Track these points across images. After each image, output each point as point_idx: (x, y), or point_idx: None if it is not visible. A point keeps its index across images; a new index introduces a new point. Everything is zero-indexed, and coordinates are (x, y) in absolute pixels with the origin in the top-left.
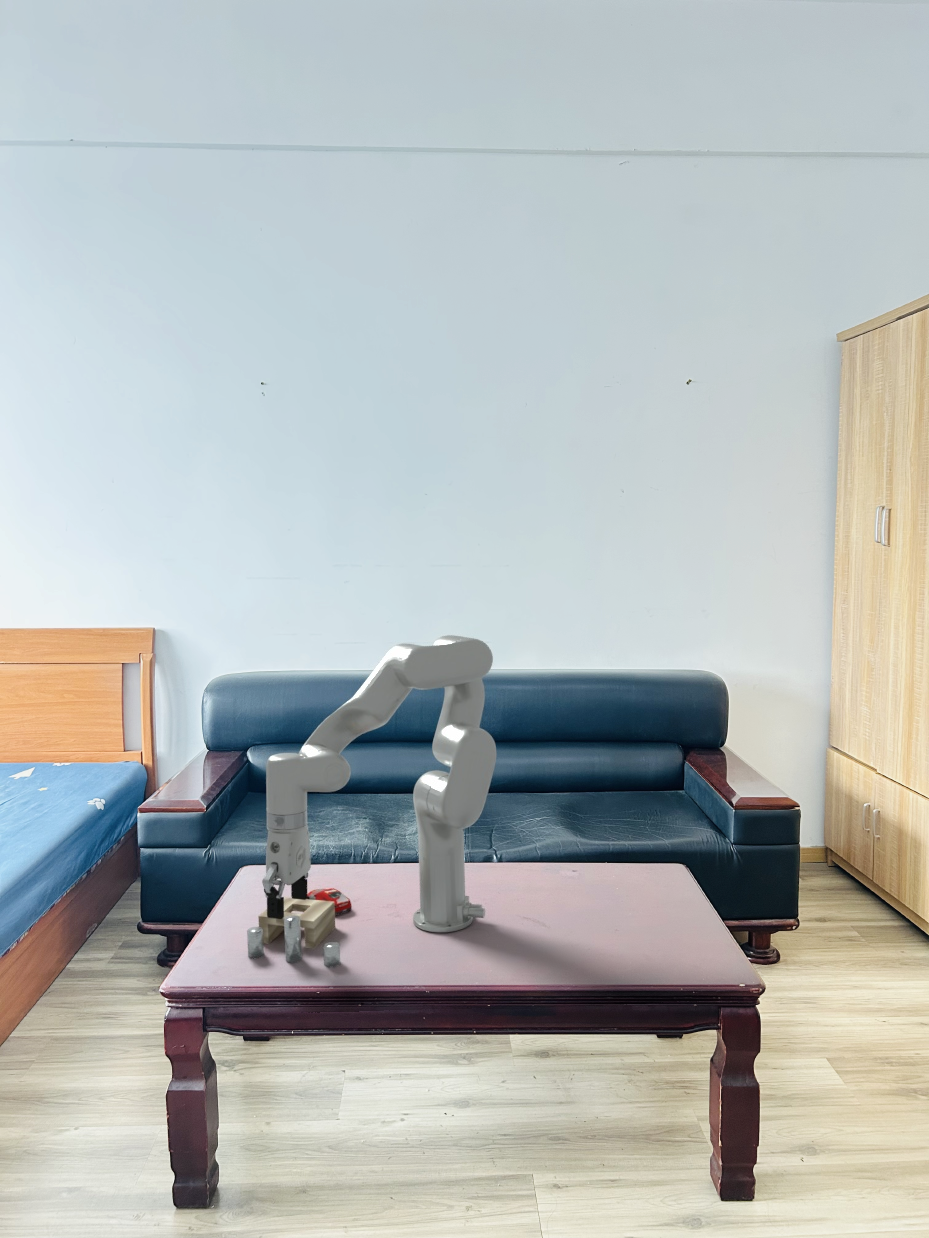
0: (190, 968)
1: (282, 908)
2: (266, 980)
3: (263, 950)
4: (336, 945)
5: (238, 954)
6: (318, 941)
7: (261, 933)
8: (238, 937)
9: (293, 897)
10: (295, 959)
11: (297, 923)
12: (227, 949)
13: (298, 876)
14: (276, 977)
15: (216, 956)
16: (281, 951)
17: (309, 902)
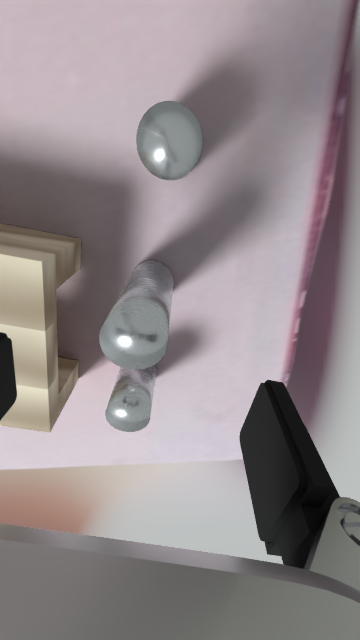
0: (202, 453)
1: (301, 422)
2: (267, 315)
3: None
4: (168, 116)
5: None
6: (47, 235)
7: (133, 395)
8: (63, 420)
9: (14, 393)
10: (170, 273)
11: (152, 310)
12: None
13: (154, 621)
14: (254, 296)
15: (152, 432)
16: None
17: None
